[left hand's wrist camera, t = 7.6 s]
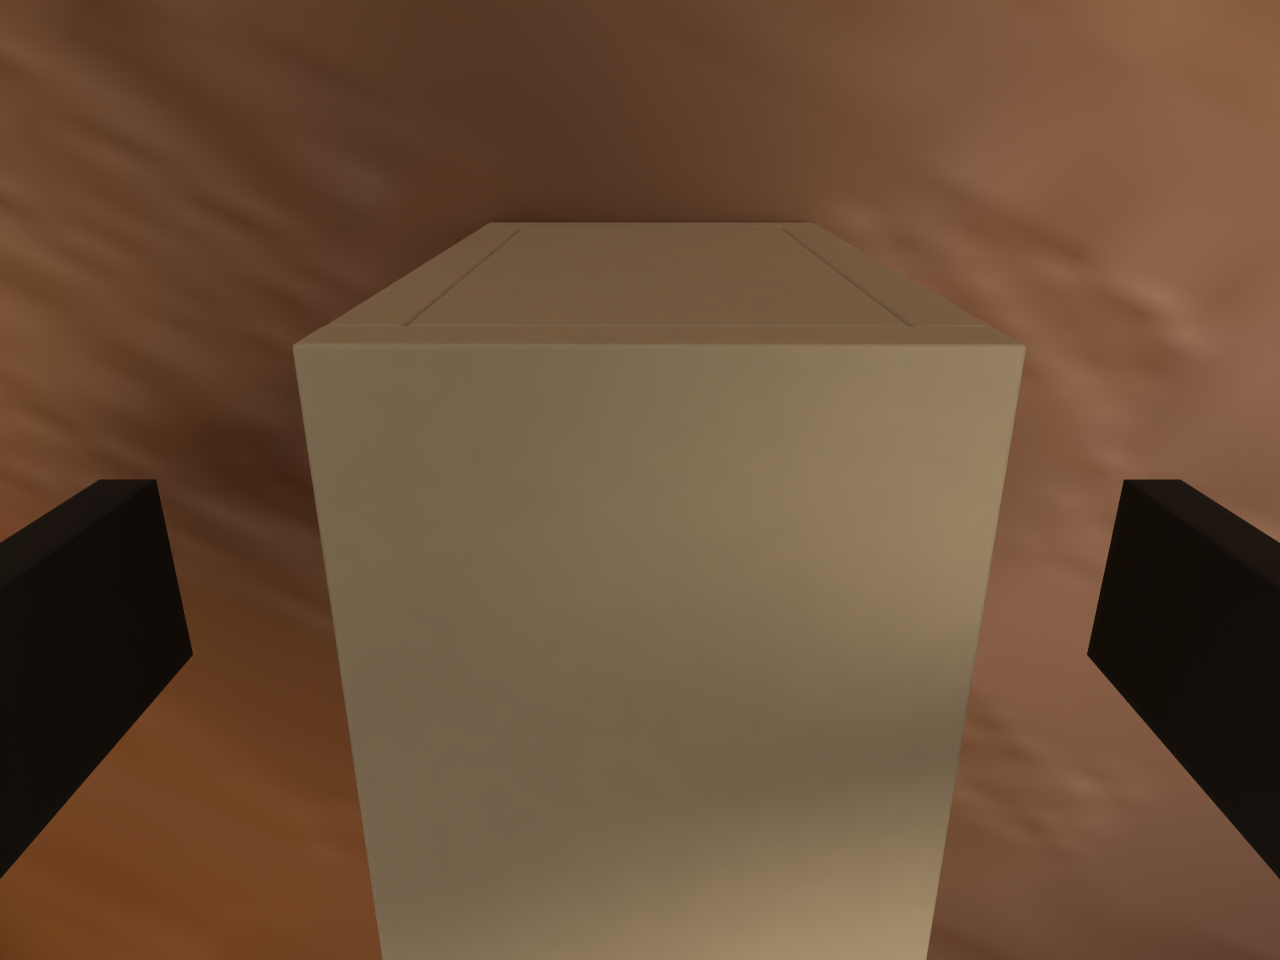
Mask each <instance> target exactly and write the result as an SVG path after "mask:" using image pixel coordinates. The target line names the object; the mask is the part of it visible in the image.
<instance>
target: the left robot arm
mask: <svg viewBox="0 0 1280 960" xmlns="http://www.w3.org/2000/svg"><path fill="white" fill-rule="evenodd" d="M192 655H193V653H192V648H191V643H190V638H189V634H188V629H187V624H186V619H185V615H184V610H183V605H182V600H181V596H180V591H179V586H178V581H177V577H176V572H175V567H174V562H173V558H172V553H171V548H170V544H169V539H168V534H167V529H166V525H165V520H164V515H163V510H162V506H161V501H160V496H159V491H158V487H157V482H156V480H98V481H97V482H95V483H93V484H92V485H90V486H89V487H87V488H86V489H84V490H82V491H81V492H79V493H78V494H76V495H75V496H73V497H71V498H70V499H68V500H67V501H65V502H64V503H62V504H60V505H59V506H57V507H56V508H54V509H53V510H51V511H50V512H48V513H46V514H45V515H43V516H42V517H40V518H39V519H37V520H35V521H34V522H32V523H31V524H29V525H28V526H26V527H24V528H23V529H21V530H20V531H18V532H17V533H15V534H13V535H12V536H10V537H9V538H7V539H6V540H4V541H3V542H1V543H0V879H1V877H2V876H3V875H4V874H5V873H6V872H7V870H8V869H9V868H10V867H11V866H12V865H13V864H14V862H15V861H16V860H17V859H18V858H19V857H20V855H21V854H22V853H23V852H24V851H25V850H26V848H27V847H28V846H29V845H30V844H31V843H32V841H33V840H34V839H35V838H36V837H37V836H38V834H39V833H40V832H41V831H42V830H43V829H44V827H45V826H46V825H47V824H48V823H49V822H50V820H51V819H52V818H53V817H54V816H55V815H56V813H57V812H58V811H59V810H60V809H61V808H62V807H63V805H64V804H65V803H66V802H67V801H68V800H69V798H70V797H71V796H72V795H73V794H74V793H75V791H76V790H77V789H78V788H79V787H80V786H81V784H82V783H83V782H84V781H85V780H86V779H87V777H88V776H89V775H90V774H91V773H92V772H93V770H94V769H95V768H96V767H97V766H98V765H99V763H100V762H101V761H102V760H103V759H104V758H105V756H106V755H107V754H108V753H109V752H110V751H111V749H112V748H113V747H114V746H115V745H116V744H117V743H118V741H119V740H120V739H121V738H122V737H123V736H124V734H125V733H126V732H127V731H128V730H129V729H130V727H131V726H132V725H133V724H134V723H135V722H136V720H137V719H138V718H139V717H140V716H141V715H142V713H143V712H144V711H145V710H146V709H147V708H148V706H149V705H150V704H151V703H152V702H153V701H154V699H155V698H156V697H157V696H158V695H159V694H160V692H161V691H162V690H163V689H164V688H165V687H166V686H167V684H168V683H169V682H170V681H171V680H172V679H173V677H174V676H175V675H176V674H177V673H178V672H179V670H180V669H181V668H182V667H183V666H184V665H185V663H186V662H187V661H188V660H189V659H190V658H191V656H192ZM1087 655H1088V656H1089V658H1090V659H1091V660H1092V661H1093V662H1094V663H1095V665H1096V666H1097V667H1098V668H1099V669H1100V670H1101V672H1102V673H1103V674H1104V675H1105V676H1106V677H1107V679H1108V680H1109V681H1110V682H1111V683H1112V684H1113V686H1114V687H1115V688H1116V689H1117V690H1118V691H1119V692H1120V694H1121V695H1122V696H1123V697H1124V698H1125V699H1126V701H1127V702H1128V703H1129V704H1130V705H1131V706H1132V708H1133V709H1134V710H1135V711H1136V712H1137V713H1138V715H1139V716H1140V717H1141V718H1142V719H1143V720H1144V722H1145V723H1146V724H1147V725H1148V726H1149V727H1150V729H1151V730H1152V731H1153V732H1154V733H1155V734H1156V736H1157V737H1158V738H1159V739H1160V740H1161V741H1162V743H1163V744H1164V745H1165V746H1166V747H1167V748H1168V749H1169V751H1170V752H1171V753H1172V754H1173V755H1174V756H1175V758H1176V759H1177V760H1178V761H1179V762H1180V763H1181V765H1182V766H1183V767H1184V768H1185V769H1186V770H1187V772H1188V773H1189V774H1190V775H1191V776H1192V777H1193V779H1194V780H1195V781H1196V782H1197V783H1198V784H1199V786H1200V787H1201V788H1202V789H1203V790H1204V791H1205V793H1206V794H1207V795H1208V796H1209V797H1210V798H1211V800H1212V801H1213V802H1214V803H1215V804H1216V805H1217V807H1218V808H1219V809H1220V810H1221V811H1222V812H1223V813H1224V815H1225V816H1226V817H1227V818H1228V819H1229V820H1230V822H1231V823H1232V824H1233V825H1234V826H1235V827H1236V829H1237V830H1238V831H1239V832H1240V833H1241V834H1242V836H1243V837H1244V838H1245V839H1246V840H1247V841H1248V843H1249V844H1250V845H1251V846H1252V847H1253V848H1254V850H1255V851H1256V852H1257V853H1258V854H1259V855H1260V857H1261V858H1262V859H1263V860H1264V861H1265V862H1266V864H1267V865H1268V866H1269V867H1270V868H1271V869H1272V870H1273V872H1274V873H1275V874H1276V875H1277V876H1278V877H1279V879H1280V543H1279V542H1277V541H1276V540H1274V539H1273V538H1271V537H1270V536H1268V535H1267V534H1265V533H1263V532H1262V531H1260V530H1259V529H1257V528H1256V527H1254V526H1252V525H1251V524H1249V523H1248V522H1246V521H1245V520H1243V519H1241V518H1240V517H1238V516H1237V515H1235V514H1234V513H1232V512H1230V511H1229V510H1227V509H1226V508H1224V507H1223V506H1221V505H1219V504H1218V503H1216V502H1215V501H1213V500H1212V499H1210V498H1209V497H1207V496H1205V495H1204V494H1202V493H1201V492H1199V491H1198V490H1196V489H1194V488H1193V487H1191V486H1190V485H1188V484H1187V483H1185V482H1183V481H1182V480H1124V482H1123V487H1122V491H1121V496H1120V501H1119V506H1118V510H1117V515H1116V520H1115V525H1114V529H1113V534H1112V539H1111V544H1110V548H1109V553H1108V558H1107V562H1106V567H1105V572H1104V577H1103V581H1102V586H1101V591H1100V596H1099V600H1098V605H1097V610H1096V615H1095V619H1094V624H1093V629H1092V634H1091V638H1090V643H1089V648H1088V652H1087Z"/></svg>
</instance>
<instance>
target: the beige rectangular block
mask: <svg viewBox="0 0 1280 960" xmlns="http://www.w3.org/2000/svg"><path fill="white" fill-rule="evenodd" d="M1025 352H1026V348H1025V345H1024V344H1022V343H1020V342H1018V341H1017V340H1015V339H1013V338H1011V337H1010V336H1008V335H1006V334H1005V333H1003V332H1001V331H999V330H998V329H996V328H994V327H992V326H990V325H988V324H987V323H985V322H983V321H982V320H980V319H978V318H976V317H975V316H973V315H971V314H969V313H968V312H966V311H964V310H963V309H961V308H959V307H957V306H956V305H954V304H952V303H951V302H949V301H947V300H945V299H944V298H942V297H940V296H938V295H937V294H935V293H933V292H932V291H930V290H928V289H926V288H925V287H923V286H921V285H920V284H918V283H916V282H914V281H913V280H911V279H909V278H908V277H906V276H904V275H902V274H901V273H899V272H897V271H895V270H894V269H892V268H890V267H889V266H887V265H885V264H883V263H882V262H880V261H878V260H877V259H875V258H873V257H871V256H870V255H868V254H866V253H864V252H863V251H861V250H859V249H858V248H856V247H854V246H852V245H851V244H849V243H847V242H846V241H844V240H842V239H840V238H839V237H837V236H835V235H834V234H832V233H830V232H828V231H827V230H825V229H823V228H821V227H820V226H818V225H816V224H815V223H812V222H490V223H488V224H486V225H485V226H483V227H482V228H480V229H479V230H477V231H476V232H474V233H472V234H471V235H469V236H468V237H466V238H465V239H463V240H461V241H460V242H458V243H457V244H455V245H453V246H452V247H450V248H449V249H447V250H445V251H444V252H442V253H441V254H439V255H437V256H436V257H434V258H433V259H431V260H429V261H428V262H426V263H425V264H423V265H421V266H420V267H418V268H417V269H415V270H413V271H412V272H410V273H409V274H407V275H406V276H404V277H402V278H401V279H399V280H398V281H396V282H394V283H393V284H391V285H390V286H388V287H386V288H385V289H383V290H382V291H380V292H378V293H377V294H375V295H374V296H372V297H370V298H369V299H367V300H366V301H364V302H362V303H361V304H359V305H358V306H356V307H354V308H353V309H351V310H350V311H348V312H347V313H345V314H343V315H342V316H340V317H339V318H337V319H335V320H334V321H332V322H331V323H329V324H327V325H326V326H323V327H321V328H319V329H318V330H316V331H314V332H313V333H311V334H309V335H308V336H306V337H305V338H303V339H301V340H300V341H298V342H297V343H295V344H294V345H293V354H294V361H295V368H296V374H297V381H298V388H299V395H300V402H301V408H302V415H303V422H304V429H305V436H306V442H307V449H308V456H309V463H310V470H311V476H312V483H313V490H314V497H315V504H316V510H317V517H318V524H319V531H320V538H321V544H322V551H323V558H324V565H325V572H326V578H327V585H328V592H329V599H330V606H331V612H332V619H333V626H334V633H335V640H336V646H337V653H338V660H339V667H340V674H341V680H342V687H343V694H344V701H345V708H346V714H347V721H348V728H349V735H350V742H351V748H352V755H353V762H354V769H355V776H356V782H357V789H358V796H359V803H360V810H361V816H362V823H363V830H364V837H365V844H366V850H367V857H368V864H369V871H370V878H371V884H372V891H373V898H374V905H375V912H376V918H377V925H378V932H379V939H380V946H381V952H382V959H383V960H926V958H927V952H928V945H929V939H930V933H931V927H932V921H933V915H934V909H935V903H936V896H937V890H938V884H939V878H940V872H941V866H942V860H943V854H944V848H945V841H946V835H947V829H948V823H949V817H950V811H951V805H952V799H953V792H954V786H955V780H956V774H957V768H958V762H959V756H960V750H961V743H962V737H963V731H964V725H965V719H966V713H967V707H968V701H969V694H970V688H971V682H972V676H973V670H974V664H975V658H976V652H977V645H978V639H979V633H980V627H981V621H982V615H983V609H984V603H985V596H986V590H987V584H988V578H989V572H990V566H991V560H992V554H993V547H994V541H995V535H996V529H997V523H998V517H999V511H1000V505H1001V499H1002V492H1003V486H1004V480H1005V474H1006V468H1007V462H1008V456H1009V450H1010V443H1011V437H1012V431H1013V425H1014V419H1015V413H1016V407H1017V401H1018V394H1019V388H1020V382H1021V376H1022V370H1023V364H1024V358H1025Z"/></svg>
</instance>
